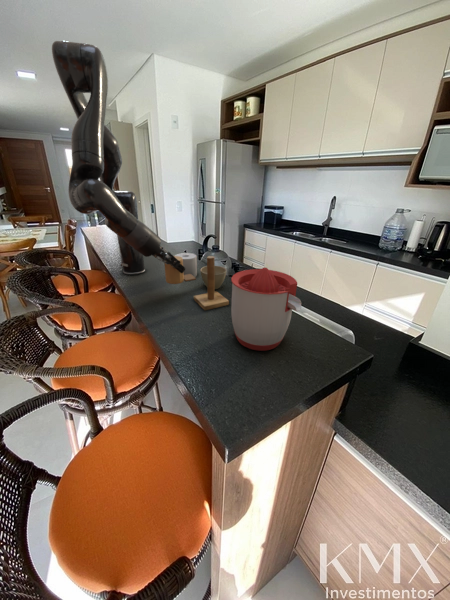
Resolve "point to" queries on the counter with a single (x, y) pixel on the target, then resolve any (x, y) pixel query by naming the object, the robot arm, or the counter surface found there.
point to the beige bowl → (219, 275)
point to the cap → (176, 274)
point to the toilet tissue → (189, 263)
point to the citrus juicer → (262, 307)
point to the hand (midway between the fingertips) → (178, 268)
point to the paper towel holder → (211, 290)
